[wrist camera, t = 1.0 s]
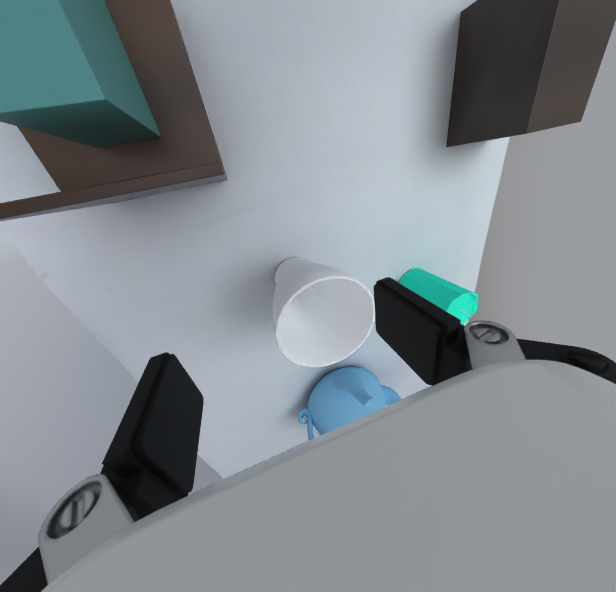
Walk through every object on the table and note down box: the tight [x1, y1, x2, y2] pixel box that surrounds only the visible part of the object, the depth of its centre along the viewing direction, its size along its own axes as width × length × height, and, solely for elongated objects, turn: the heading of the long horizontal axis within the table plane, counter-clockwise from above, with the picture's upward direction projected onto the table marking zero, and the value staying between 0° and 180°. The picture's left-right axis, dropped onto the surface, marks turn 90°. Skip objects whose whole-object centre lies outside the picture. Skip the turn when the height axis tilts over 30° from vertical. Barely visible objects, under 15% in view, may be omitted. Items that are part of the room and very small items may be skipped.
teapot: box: [298, 367, 401, 440], centre depth 43 cm, size 17×19×12 cm
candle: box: [399, 268, 478, 325], centre depth 36 cm, size 6×6×12 cm
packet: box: [0, 0, 161, 148], centre depth 11 cm, size 7×4×9 cm, turn 11°
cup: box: [273, 257, 375, 367], centre depth 27 cm, size 10×10×14 cm
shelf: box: [0, 0, 227, 221], centre depth 14 cm, size 13×12×16 cm
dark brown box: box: [447, 0, 616, 147], centre depth 25 cm, size 13×8×10 cm, turn 11°
